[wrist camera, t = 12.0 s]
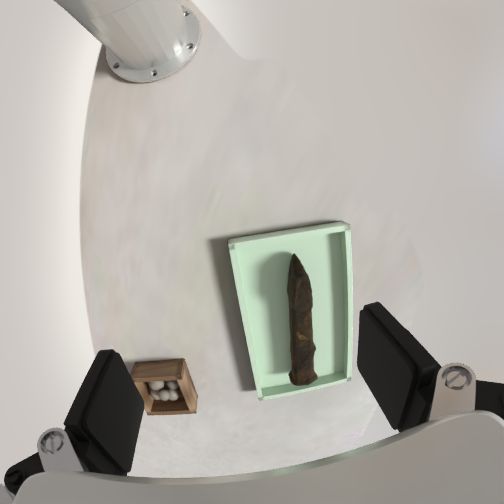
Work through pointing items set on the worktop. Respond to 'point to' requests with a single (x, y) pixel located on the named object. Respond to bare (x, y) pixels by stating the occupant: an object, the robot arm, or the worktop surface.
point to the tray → (277, 304)
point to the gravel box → (165, 387)
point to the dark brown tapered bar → (300, 325)
